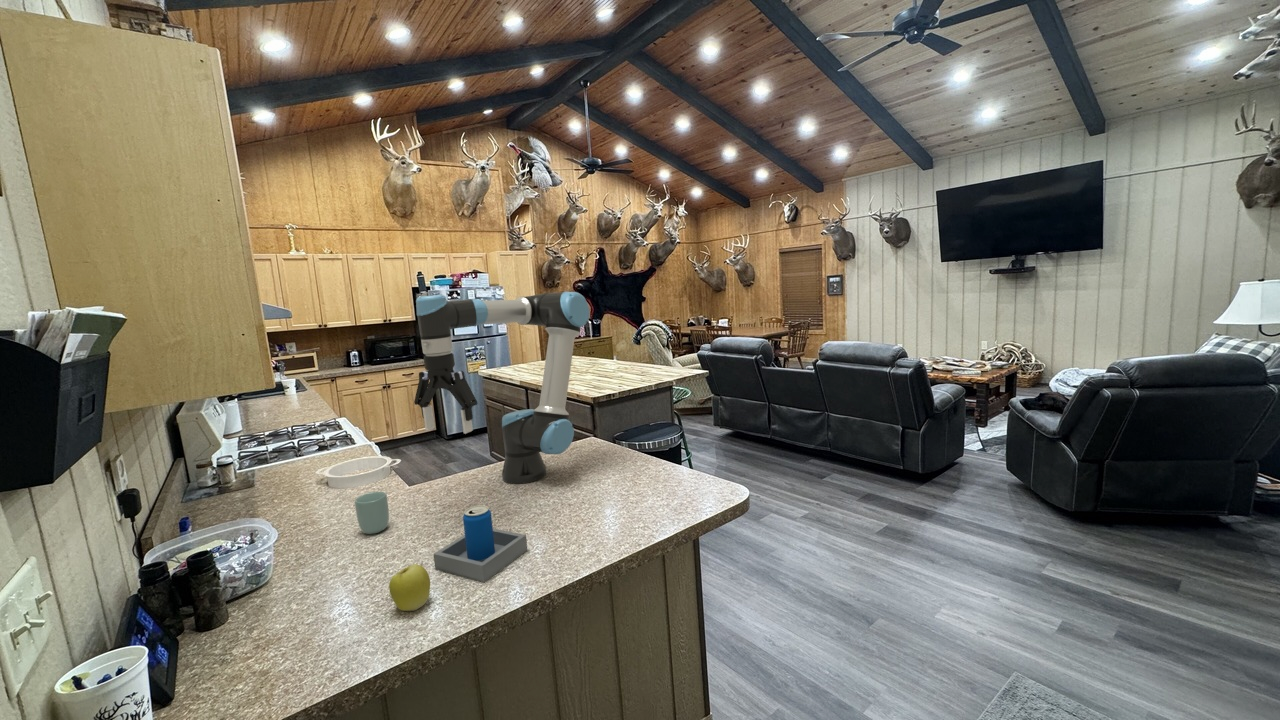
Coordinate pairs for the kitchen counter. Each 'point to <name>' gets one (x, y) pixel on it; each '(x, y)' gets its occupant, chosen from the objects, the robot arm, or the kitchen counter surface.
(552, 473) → the kitchen counter surface
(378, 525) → the cup
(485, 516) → the beverage can
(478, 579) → the bin
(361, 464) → the oval baking dish
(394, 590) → the apple
